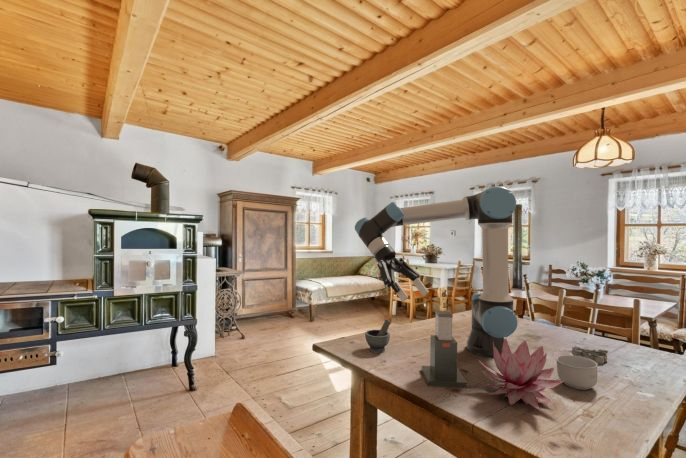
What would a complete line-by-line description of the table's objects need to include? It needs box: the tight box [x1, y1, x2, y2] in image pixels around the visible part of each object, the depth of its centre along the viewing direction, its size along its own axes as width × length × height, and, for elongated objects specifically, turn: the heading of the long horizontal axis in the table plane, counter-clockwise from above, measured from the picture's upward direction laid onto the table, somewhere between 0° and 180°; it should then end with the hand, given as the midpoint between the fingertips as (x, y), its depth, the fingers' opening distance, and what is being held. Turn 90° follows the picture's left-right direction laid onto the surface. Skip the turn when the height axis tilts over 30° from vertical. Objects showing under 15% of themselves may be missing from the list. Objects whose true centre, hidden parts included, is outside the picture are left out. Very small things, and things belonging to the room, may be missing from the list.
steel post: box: [434, 310, 453, 341], centre depth 111 cm, size 4×4×20 cm
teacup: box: [555, 353, 599, 391], centre depth 108 cm, size 14×11×8 cm
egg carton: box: [571, 346, 609, 365], centre depth 130 cm, size 11×8×4 cm
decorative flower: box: [478, 337, 564, 409], centre depth 98 cm, size 21×21×15 cm
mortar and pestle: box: [364, 318, 392, 354], centre depth 136 cm, size 11×9×12 cm
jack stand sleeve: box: [420, 334, 468, 388], centre depth 111 cm, size 12×12×13 cm
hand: (416, 296), depth 118 cm, fingers open, 13 cm apart
